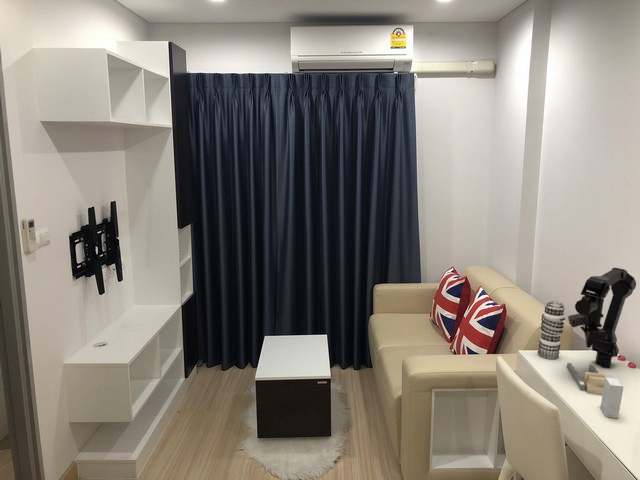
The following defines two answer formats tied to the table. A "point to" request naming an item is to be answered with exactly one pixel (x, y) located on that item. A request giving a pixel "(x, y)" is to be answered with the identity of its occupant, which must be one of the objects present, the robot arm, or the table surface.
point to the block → (594, 383)
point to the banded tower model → (551, 330)
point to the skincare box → (611, 397)
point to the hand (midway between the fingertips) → (588, 347)
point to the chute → (576, 376)
